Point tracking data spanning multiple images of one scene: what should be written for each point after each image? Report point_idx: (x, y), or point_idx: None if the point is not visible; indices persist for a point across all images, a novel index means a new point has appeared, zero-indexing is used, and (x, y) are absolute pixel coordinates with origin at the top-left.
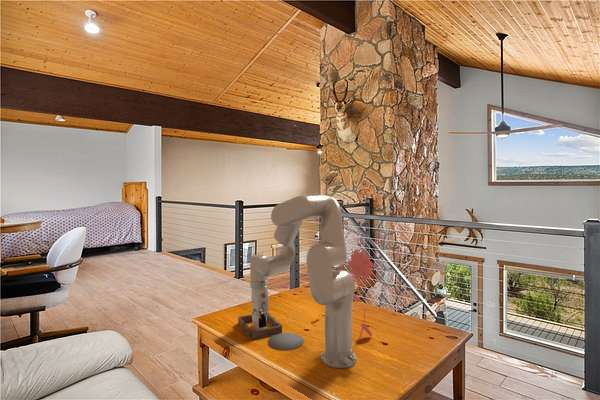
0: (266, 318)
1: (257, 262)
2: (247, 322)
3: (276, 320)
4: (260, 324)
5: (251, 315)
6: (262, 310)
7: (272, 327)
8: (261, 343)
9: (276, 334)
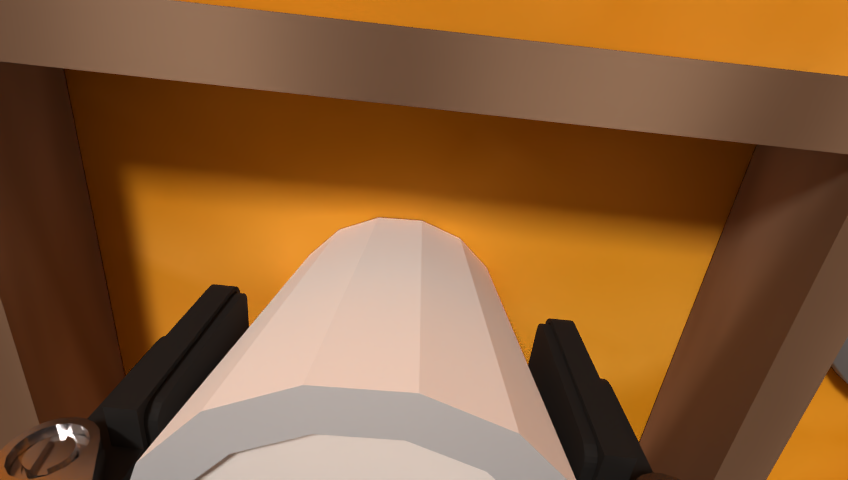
0: (504, 346)
1: None
2: (120, 370)
3: (570, 64)
4: None
5: (25, 385)
6: (224, 458)
7: (818, 325)
8: (818, 465)
9: None
